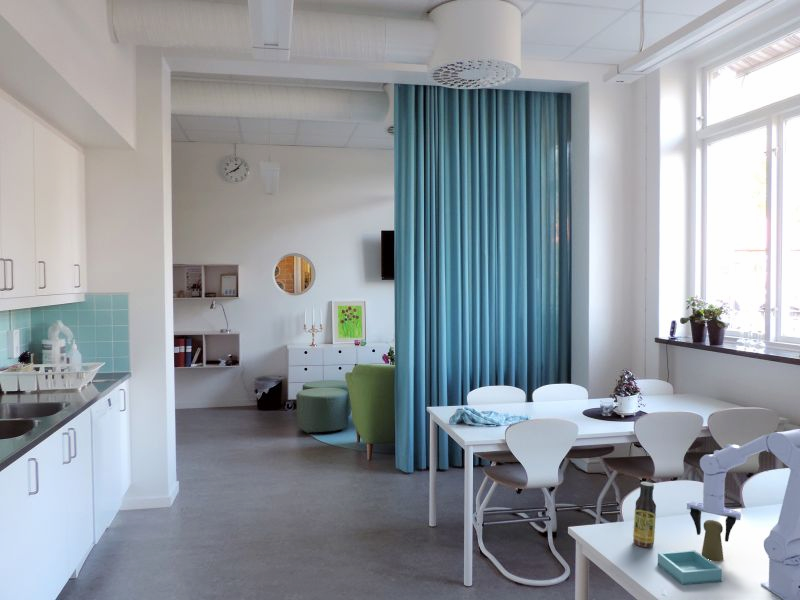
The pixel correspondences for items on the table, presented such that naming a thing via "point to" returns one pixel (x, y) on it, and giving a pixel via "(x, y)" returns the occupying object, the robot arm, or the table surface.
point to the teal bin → (689, 567)
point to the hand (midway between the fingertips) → (712, 537)
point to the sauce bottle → (645, 516)
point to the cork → (712, 541)
